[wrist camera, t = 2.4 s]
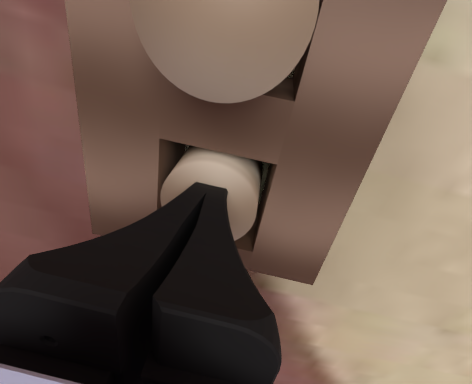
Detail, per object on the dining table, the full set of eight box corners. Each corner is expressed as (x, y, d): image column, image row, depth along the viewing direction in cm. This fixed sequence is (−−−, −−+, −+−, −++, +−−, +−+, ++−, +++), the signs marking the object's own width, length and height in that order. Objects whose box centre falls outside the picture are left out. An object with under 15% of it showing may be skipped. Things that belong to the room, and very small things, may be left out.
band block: (307, 232, 18) (312, 284, 14) (129, 191, 18) (92, 233, 14) (431, -78, 10) (504, -123, 7) (119, -139, 10) (39, -211, 7)
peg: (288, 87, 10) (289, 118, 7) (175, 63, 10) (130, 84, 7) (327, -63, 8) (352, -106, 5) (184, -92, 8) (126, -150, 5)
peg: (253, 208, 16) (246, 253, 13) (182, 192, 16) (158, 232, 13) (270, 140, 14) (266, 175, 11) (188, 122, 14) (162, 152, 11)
